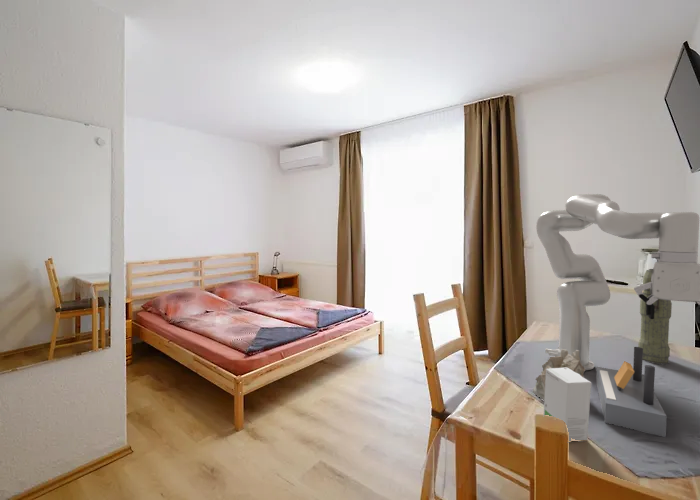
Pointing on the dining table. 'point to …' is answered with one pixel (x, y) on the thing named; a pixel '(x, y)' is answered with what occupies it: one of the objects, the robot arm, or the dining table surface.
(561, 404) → the skincare box
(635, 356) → the dark grey cylinder
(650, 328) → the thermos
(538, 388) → the beige rock sculpture
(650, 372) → the dark gray rod
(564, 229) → the robot arm
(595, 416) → the dining table surface
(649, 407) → the strip
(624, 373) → the wooden plank tile
